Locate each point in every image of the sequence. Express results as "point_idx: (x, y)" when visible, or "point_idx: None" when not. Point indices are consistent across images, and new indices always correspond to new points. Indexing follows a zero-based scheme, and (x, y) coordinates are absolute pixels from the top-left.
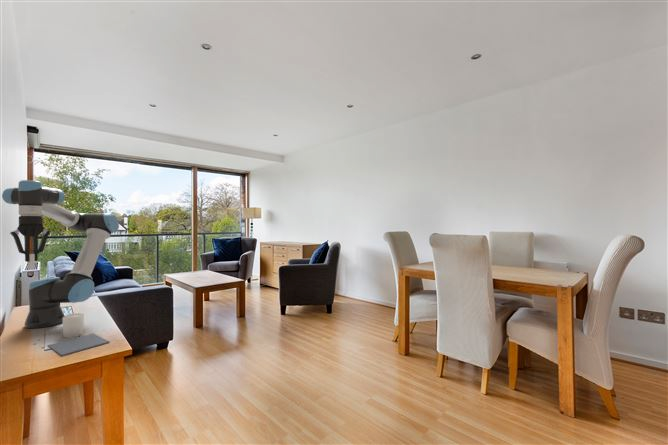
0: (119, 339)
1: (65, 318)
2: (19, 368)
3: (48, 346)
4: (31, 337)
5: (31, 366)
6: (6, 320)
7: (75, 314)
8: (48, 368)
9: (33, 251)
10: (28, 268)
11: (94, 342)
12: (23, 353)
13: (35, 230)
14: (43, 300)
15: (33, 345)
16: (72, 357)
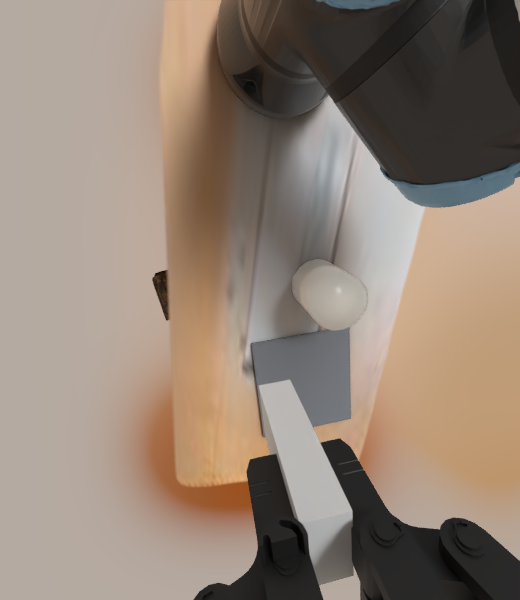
0: (370, 408)
1: (314, 319)
2: (195, 448)
3: (252, 351)
4: (227, 205)
5: (213, 452)
6: None
7: (349, 288)
8: (235, 480)
9: (376, 567)
10: (259, 390)
11: (328, 404)
12: (204, 356)
13: None
14: (301, 60)
15: (226, 304)
16: None
